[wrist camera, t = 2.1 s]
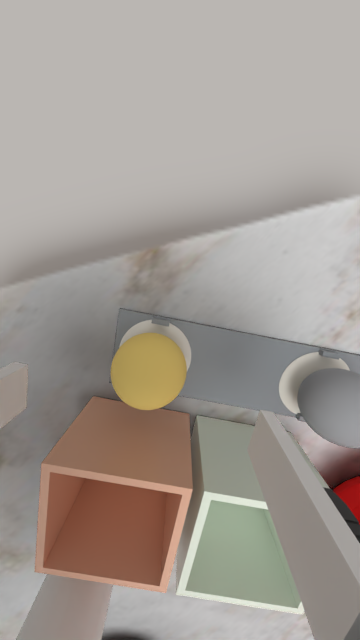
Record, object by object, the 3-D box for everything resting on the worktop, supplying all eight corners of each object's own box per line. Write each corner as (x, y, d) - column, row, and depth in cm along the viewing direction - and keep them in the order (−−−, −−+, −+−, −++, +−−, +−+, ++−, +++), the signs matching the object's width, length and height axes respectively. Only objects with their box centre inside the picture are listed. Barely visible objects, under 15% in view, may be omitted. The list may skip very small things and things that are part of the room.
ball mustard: (119, 377, 19) (92, 420, 14) (128, 319, 18) (102, 338, 12) (179, 389, 20) (178, 436, 14) (191, 331, 18) (196, 356, 12)
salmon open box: (83, 474, 22) (34, 571, 15) (93, 396, 20) (41, 463, 13) (171, 490, 23) (165, 592, 15) (189, 413, 21) (192, 489, 13)
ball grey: (276, 407, 20) (316, 460, 14) (295, 351, 19) (347, 385, 13) (334, 417, 20) (397, 475, 14) (356, 363, 19) (435, 402, 13)
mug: (70, 500, 23) (-45, 726, 11) (127, 503, 23) (70, 733, 11) (75, 562, 25) (-19, 808, 14) (127, 565, 25) (78, 814, 13)
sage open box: (178, 491, 23) (176, 594, 15) (196, 415, 21) (204, 491, 13) (263, 506, 23) (302, 614, 16) (290, 432, 21) (349, 516, 13)
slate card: (110, 380, 20) (107, 386, 19) (120, 308, 18) (117, 310, 18) (337, 422, 21) (344, 429, 20) (364, 355, 19) (374, 360, 18)
